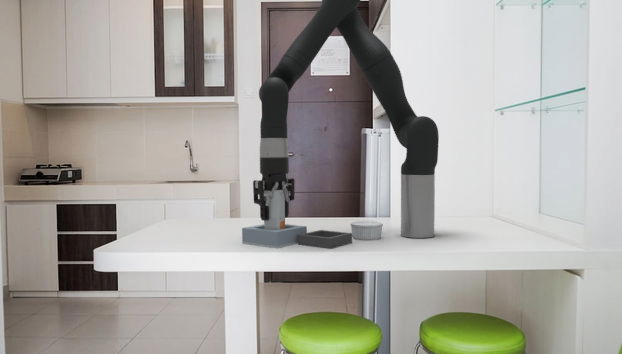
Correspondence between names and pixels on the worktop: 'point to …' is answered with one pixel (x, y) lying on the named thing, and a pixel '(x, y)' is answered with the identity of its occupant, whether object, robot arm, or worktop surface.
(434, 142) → the robot arm
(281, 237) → the blue-grey square tray
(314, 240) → the dark grey square tray
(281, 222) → the skincare box
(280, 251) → the worktop surface
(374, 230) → the ramekin
